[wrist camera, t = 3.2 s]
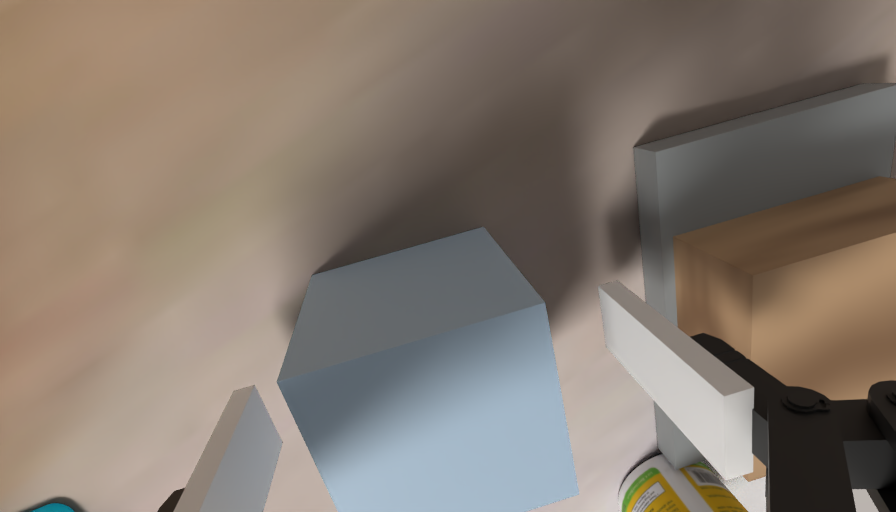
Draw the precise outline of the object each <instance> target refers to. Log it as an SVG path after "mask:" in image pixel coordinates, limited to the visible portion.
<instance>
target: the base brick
mask: <svg viewBox="0 0 896 512" xmlns="http://www.w3.org/2000/svg"><path fill="white" fill-rule="evenodd" d="M673 248H674V267H675V286H676V305H677V325H678V328H679V329H680V330H681V331H683V332H684V333H685V334H686V335H688V336H689V337H691V336H694V335H697V334H701V333H706V334H708V335H711V336H714V337H717V338H719V339H722V340H723V341H724V342H726V343H727V344H729V345H730V346H731V347H733V348H734V349H735V351H738V352H740V353H741V354H743V355H744V356H745V357H746V359H750V360H751V361H752V362H754V363H755V364H757V365H758V366H759V367H761V368H762V369H764V370H765V371H766V372H768V373H769V374H771V375H772V376H773V377H775V378H776V379H778V380H779V381H780V382H782V383H783V384H785V385H786V386H799V387H804V388H808V389H812V390H814V391H817V392H819V393H821V394H823V395H825V396H826V397H827V398H829V399H830V400H854V399H867V398H868V391H869V389H870V387H871V385H873V384H875V383H877V382H880V381H889V380H895V381H896V179H893V178H887V177H881V176H879V177H875V178H872V179H868V180H865V181H861V182H858V183H855V184H851V185H848V186H844V187H841V188H837V189H834V190H831V191H827V192H824V193H820V194H817V195H814V196H810V197H807V198H803V199H800V200H796V201H793V202H790V203H786V204H783V205H779V206H776V207H772V208H769V209H766V210H762V211H759V212H755V213H752V214H748V215H745V216H742V217H738V218H735V219H731V220H728V221H725V222H721V223H718V224H714V225H711V226H707V227H704V228H701V229H697V230H694V231H690V232H687V233H683V234H680V235H677V236H673ZM742 476H743V477H744V478H745V479H746V480H747V481H748V482H750V481H753V480H756V479H759V478H762V477H765V476H766V466H765V465H764V464H763V463H762V462H761V461H760V460H759V459H758V458H757V457H756V456H755V455H753V472H752V473H749V474H745V475H742Z"/></svg>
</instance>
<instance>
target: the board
mask: <svg viewBox="0 0 896 512" xmlns="http://www.w3.org/2000/svg"><path fill="white" fill-rule="evenodd" d="M895 138H896V83H870V84H860V85H856V86H852V87H849V88H845V89H842V90H838V91H834V92H831V93H827V94H824V95H820V96H816V97H813V98H809V99H806V100H802V101H798V102H795V103H791V104H788V105H784V106H780V107H777V108H773V109H770V110H766V111H762V112H759V113H755V114H752V115H748V116H744V117H741V118H737V119H734V120H730V121H726V122H723V123H719V124H716V125H712V126H708V127H705V128H701V129H698V130H694V131H690V132H687V133H683V134H680V135H676V136H672V137H669V138H665V139H662V140H658V141H654V142H651V143H647V144H644V145H640V146H636V147H633V149H634V162H635V174H636V186H637V199H638V211H639V223H640V236H641V248H642V260H643V272H644V285H645V297H646V303H647V304H648V305H649V306H651V307H652V308H653V309H654V310H656V311H657V312H658V313H660V314H661V315H662V316H663V317H665V318H666V319H667V320H669V321H670V322H671V323H672V324H674V325H675V326H676V327H677V328H678V325H677V305H676V286H675V267H674V248H673V236H677V235H680V234H683V233H687V232H690V231H694V230H697V229H701V228H704V227H707V226H711V225H714V224H718V223H721V222H725V221H728V220H731V219H735V218H738V217H742V216H745V215H748V214H752V213H755V212H759V211H762V210H766V209H769V208H772V207H776V206H779V205H783V204H786V203H790V202H793V201H796V200H800V199H803V198H807V197H810V196H814V195H817V194H820V193H824V192H827V191H831V190H834V189H837V188H841V187H844V186H848V185H851V184H855V183H858V182H861V181H865V180H868V179H872V178H875V177H879V176H881V177H887V178H890V175H891V168H892V160H893V153H894V146H895ZM654 408H655V420H656V432H657V445H658V448H659V450H660V451H661V452H662V453H663V455H664V456H665V457H666V458H667V460H668V461H669V462H670V464H671V465H672V466H673V467H674V469H675V470H677V469H680V468H683V467H686V466H689V465H692V464H695V463H698V462H701V461H704V460H707V459H706V458H705V457H704V456H703V455H702V454H701V452H700V451H699V450H698V449H697V448H696V447H695V446H694V445H693V444H692V442H691V441H690V440H689V439H688V438H687V437H686V436H685V435H684V434H683V432H682V431H681V430H680V429H679V428H678V427H677V426H676V425H675V423H674V422H673V421H672V420H671V419H670V418H669V417H668V416H667V415H666V413H665V412H664V411H663V410H662V409H661V408H660V407H659V406H658V404H657V403H656V402H655V401H654Z"/></svg>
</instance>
